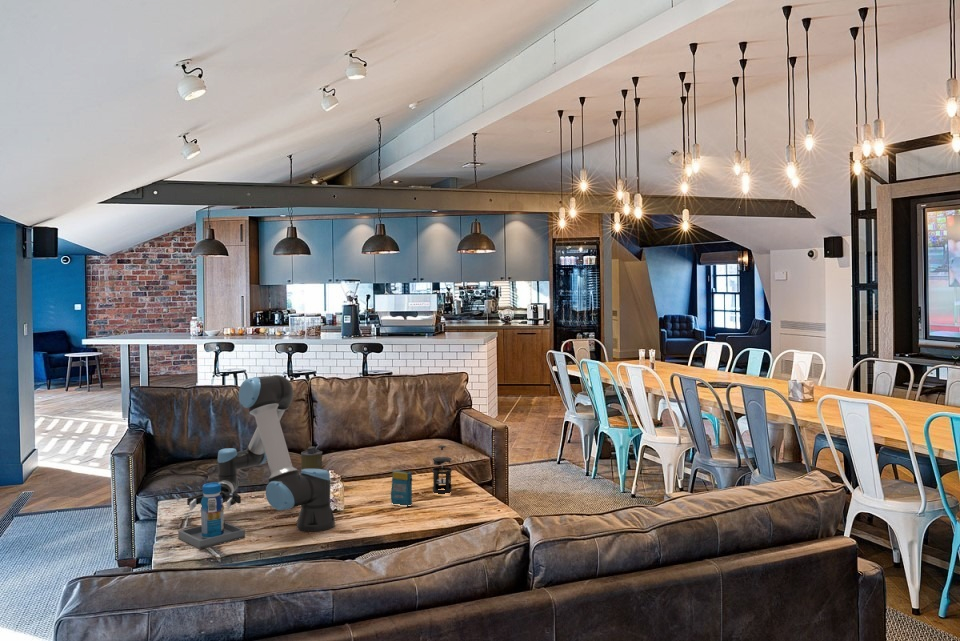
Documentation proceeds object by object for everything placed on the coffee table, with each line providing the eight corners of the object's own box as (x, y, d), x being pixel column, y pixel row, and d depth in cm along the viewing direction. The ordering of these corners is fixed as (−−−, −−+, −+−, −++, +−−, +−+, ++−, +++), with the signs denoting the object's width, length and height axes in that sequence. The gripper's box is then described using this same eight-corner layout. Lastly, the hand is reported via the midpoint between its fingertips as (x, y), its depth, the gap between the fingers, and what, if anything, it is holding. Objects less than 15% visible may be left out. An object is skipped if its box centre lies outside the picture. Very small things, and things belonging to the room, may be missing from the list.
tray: (244, 537, 280) (244, 529, 280) (199, 549, 267) (199, 541, 266) (222, 527, 292) (222, 520, 292) (178, 538, 279) (178, 530, 279)
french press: (456, 495, 341) (456, 446, 340) (440, 498, 335) (439, 449, 335) (443, 490, 350) (442, 442, 350) (426, 493, 345) (426, 445, 344)
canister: (317, 490, 351) (317, 449, 350) (297, 489, 353) (297, 448, 352) (326, 484, 361) (326, 445, 361) (307, 484, 363) (306, 444, 363)
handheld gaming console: (413, 505, 323) (412, 472, 323) (408, 508, 319) (408, 474, 319) (394, 503, 327) (394, 470, 327) (389, 505, 323) (389, 472, 323)
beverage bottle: (196, 538, 277) (195, 486, 276) (211, 531, 285) (210, 481, 284) (214, 540, 274) (213, 488, 273) (229, 533, 282) (227, 482, 281)
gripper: (253, 499, 298) (242, 514, 277) (190, 502, 295) (175, 517, 274) (253, 481, 298) (242, 495, 277) (190, 483, 295) (174, 497, 274)
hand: (209, 506), depth 276 cm, fingers open, 13 cm apart
